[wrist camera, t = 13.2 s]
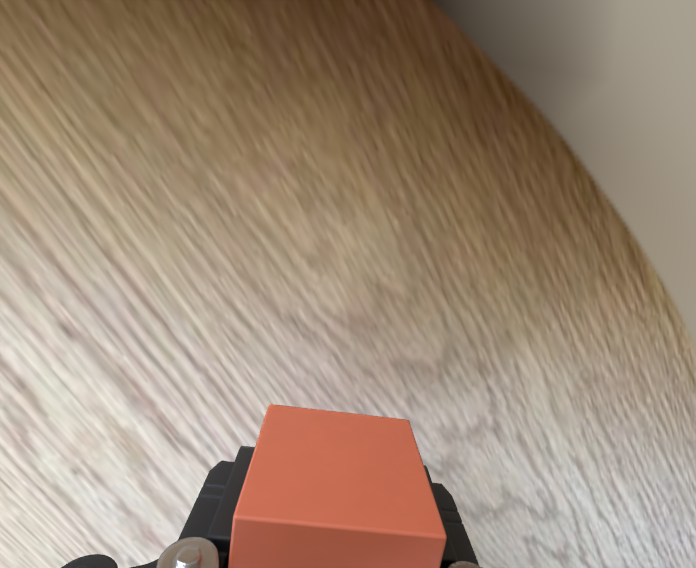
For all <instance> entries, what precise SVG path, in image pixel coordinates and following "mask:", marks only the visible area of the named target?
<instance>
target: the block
mask: <svg viewBox="0 0 696 568" xmlns="http://www.w3.org/2000/svg"><path fill="white" fill-rule="evenodd" d="M446 539H447V536H446V532H445V529H444V526H443V523H442V520H441V517H440V514H439V511H438V508H437V505H436V502H435V499H434V496H433V493H432V490H431V487H430V484H429V480H428V477H427V474H426V471H425V468H424V465H423V462H422V459H421V456H420V453H419V450H418V447H417V444H416V441H415V438H414V435H413V432H412V429H411V426H410V422H409V420H406V419H397V418H388V417H379V416H370V415H361V414H352V413H343V412H335V411H326V410H317V409H308V408H299V407H290V406H281V405H272V404H271V405H269V406H268V409H267V412H266V415H265V418H264V421H263V425H262V428H261V431H260V434H259V437H258V440H257V443H256V446H255V450H254V453H253V456H252V459H251V462H250V465H249V468H248V471H247V475H246V478H245V481H244V484H243V487H242V490H241V493H240V496H239V500H238V503H237V506H236V509H235V512H234V515H233V522H232V532H231V543H230V554H229V564H228V568H440V565H441V561H442V557H443V552H444V548H445V544H446Z"/></svg>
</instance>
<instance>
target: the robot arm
mask: <svg viewBox="0 0 696 568" xmlns="http://www.w3.org/2000/svg"><path fill="white" fill-rule="evenodd" d="M254 450H255V447H248V446H241V447H240V449H239V452H238V454H237V457H236V460H235V462H228V461H221V462H219V463H218V464H217V465H216V466H215V467H214V468H213V469H212V470H210V471H209V474H208V476H207V478H206V480H205V482H204V485H203V487H202V489H201V491H200V493H199V496H198V498H197V500H196V502H195V504H194V506H193V509H192V511H191V513H190V515H189V517H188V520H187V522H186V524H185V526H184V528H183V531H182V533H181V535H180V537H179V539H178V541H177V542H175V543H173V544H172V545H170V546H169V547H168V548H167V549H166V550H165V551H164V552H163V553H162V554H161V556H160V558H159V559H157V560H155V561H153V562H151V563H148V564H145V565H141V566H136V567H131V568H228V564H229V554H230V543H231V532H232V522H233V515H234V512H235V509H236V506H237V503H238V500H239V496H240V493H241V490H242V487H243V484H244V481H245V478H246V475H247V471H248V468H249V465H250V462H251V459H252V456H253V453H254ZM424 468H425V471H426V474H427V477H428V480H429V484H430V487H431V490H432V493H433V496H434V499H435V502H436V505H437V508H438V511H439V514H440V517H441V520H442V523H443V526H444V529H445V532H446V536H447V539H446V544H445V548H444V552H443V557H442V561H441V565H440V568H482V567H480V566H479V564H478V561H477V559H476V556H475V554H474V551H473V548H472V546H471V543H470V541H469V538H468V536H467V533H466V531H465V528H464V525H463V524H462V520H461V518H460V515H459V513H458V512H457V507H456V505H455V502H454V500H453V497H452V495H451V494H450V493H449V492H448V491H447V490H446V489H445V487H444V486H443V485H442V484H438V483H432V481H431V478H430V475H429V472H428V469H427V467H426V466H425V465H424ZM62 568H118V567H117V564H116V562H115V561H114V560H113V559H112V558H110V557H108V556H105V555H99V554H95V555H87V556H84V557H80V558H78V559H75V560H73V561H71V562H69V563H68V564H66V565H65V566H63V567H62Z"/></svg>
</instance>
